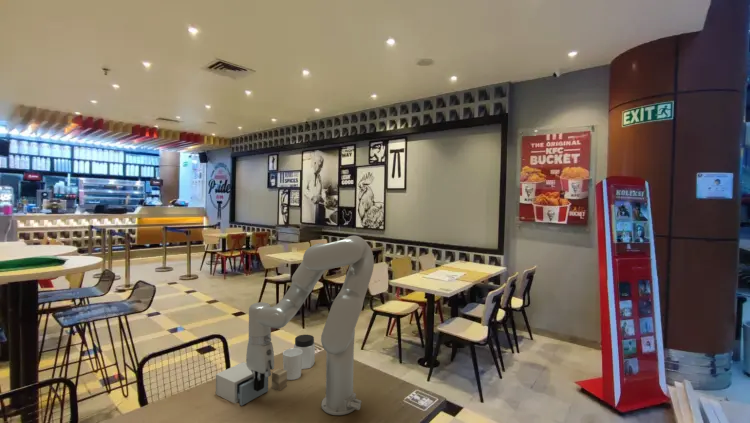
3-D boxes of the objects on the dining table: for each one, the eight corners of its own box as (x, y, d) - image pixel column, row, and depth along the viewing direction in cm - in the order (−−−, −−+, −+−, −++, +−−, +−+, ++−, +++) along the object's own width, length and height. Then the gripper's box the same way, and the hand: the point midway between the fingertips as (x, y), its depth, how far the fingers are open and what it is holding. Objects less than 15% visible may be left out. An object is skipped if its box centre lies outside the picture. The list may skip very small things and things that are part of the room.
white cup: (299, 381, 141) (300, 356, 140) (280, 380, 141) (280, 355, 141) (304, 371, 149) (304, 348, 148) (285, 371, 149) (285, 347, 149)
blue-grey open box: (268, 390, 133) (268, 373, 132) (241, 405, 123) (241, 386, 123) (248, 382, 138) (248, 365, 138) (222, 396, 129) (222, 377, 128)
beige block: (286, 386, 137) (286, 370, 137) (278, 390, 133) (279, 375, 133) (279, 383, 139) (279, 368, 139) (271, 387, 135) (271, 372, 135)
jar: (318, 364, 155) (318, 337, 155) (303, 371, 149) (303, 343, 149) (305, 358, 161) (305, 332, 161) (290, 364, 155) (290, 337, 154)
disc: (246, 382, 135) (246, 377, 135) (256, 387, 132) (257, 381, 132) (232, 389, 130) (232, 384, 130) (243, 394, 127) (243, 388, 127)
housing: (262, 388, 135) (262, 369, 134) (234, 403, 125) (234, 382, 124) (243, 380, 141) (243, 362, 140) (215, 394, 130) (215, 374, 130)
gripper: (282, 339, 125) (281, 390, 126) (254, 330, 133) (253, 379, 133) (265, 346, 119) (265, 400, 119) (237, 337, 127) (236, 387, 127)
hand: (259, 389), depth 126 cm, fingers closed
